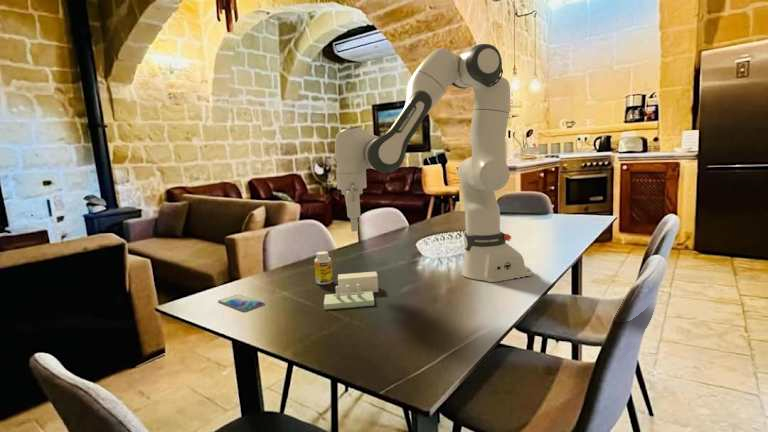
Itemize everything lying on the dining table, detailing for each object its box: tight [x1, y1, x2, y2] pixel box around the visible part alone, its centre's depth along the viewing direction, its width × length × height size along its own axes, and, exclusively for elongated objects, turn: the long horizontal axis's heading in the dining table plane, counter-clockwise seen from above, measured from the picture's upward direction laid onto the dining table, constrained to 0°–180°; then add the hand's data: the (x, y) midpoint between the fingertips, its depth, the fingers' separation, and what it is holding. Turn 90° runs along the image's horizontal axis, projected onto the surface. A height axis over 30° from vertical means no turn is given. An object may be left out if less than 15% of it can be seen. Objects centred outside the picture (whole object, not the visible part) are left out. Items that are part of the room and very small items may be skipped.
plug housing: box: [337, 271, 379, 293], centre depth 131 cm, size 12×5×5 cm, turn 95°
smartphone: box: [217, 294, 266, 313], centre depth 126 cm, size 7×1×15 cm
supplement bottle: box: [313, 250, 333, 285], centre depth 141 cm, size 6×6×10 cm
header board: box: [323, 284, 375, 311], centre depth 121 cm, size 14×8×5 cm, turn 95°
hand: (354, 228), depth 128 cm, fingers open, 8 cm apart
